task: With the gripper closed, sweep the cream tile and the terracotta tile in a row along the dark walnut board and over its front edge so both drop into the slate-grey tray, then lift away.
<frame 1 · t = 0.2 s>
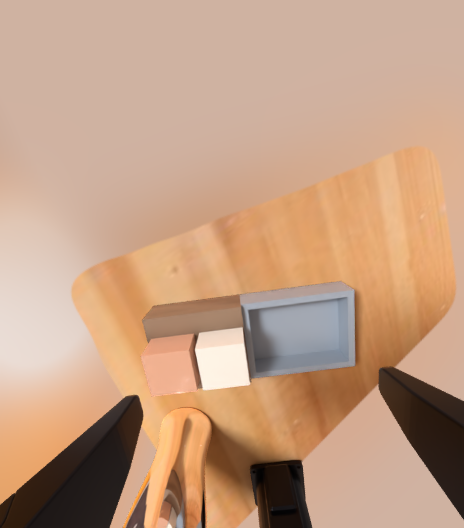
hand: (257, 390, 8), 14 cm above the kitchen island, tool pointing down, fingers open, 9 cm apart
slate tray: (292, 323, 23), on the kitchen island
cream tile: (224, 349, 21), point 3 cm above the kitchen island, touching dark walnut board
dark walnut board: (202, 334, 24), on the kitchen island
beer glass: (187, 425, 27), on the kitchen island
terracotta tile: (176, 355, 21), point 3 cm above the kitchen island, touching dark walnut board
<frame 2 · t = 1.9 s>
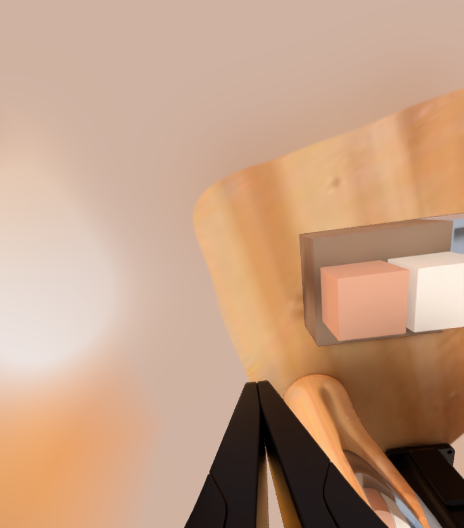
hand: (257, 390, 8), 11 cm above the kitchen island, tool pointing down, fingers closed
cream tile: (416, 283, 15), point 3 cm above the kitchen island, touching dark walnut board
dark walnut board: (357, 275, 18), on the kitchen island
beer glass: (313, 398, 21), on the kitchen island
terracotta tile: (350, 291, 15), point 3 cm above the kitchen island, touching dark walnut board
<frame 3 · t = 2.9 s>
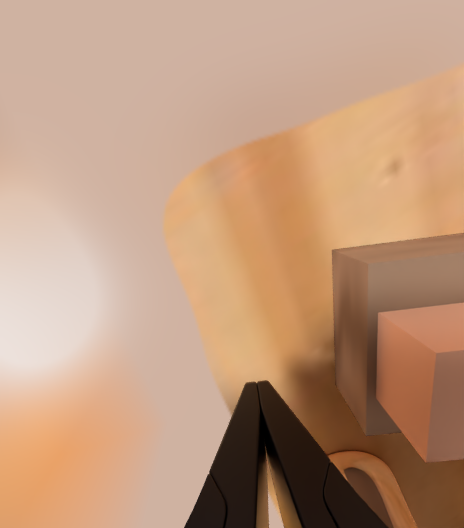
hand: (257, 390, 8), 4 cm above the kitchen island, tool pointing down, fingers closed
dark walnut board: (418, 312, 12), on the kitchen island
beer glass: (344, 481, 15), on the kitchen island
terracotta tile: (427, 351, 9), point 3 cm above the kitchen island, touching dark walnut board
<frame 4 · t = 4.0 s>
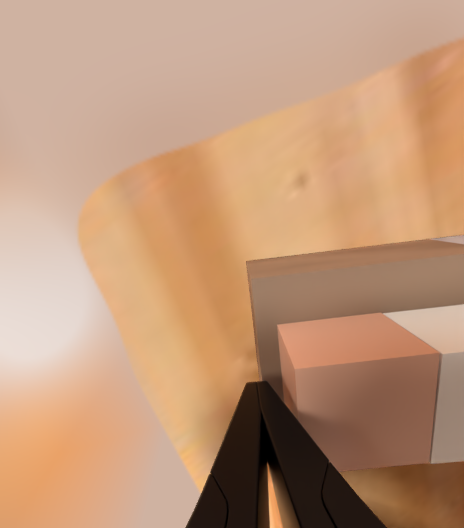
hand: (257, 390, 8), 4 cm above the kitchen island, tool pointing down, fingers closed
cream tile: (431, 353, 9), point 3 cm above the kitchen island, touching dark walnut board
dark walnut board: (337, 323, 12), on the kitchen island
beer glass: (279, 488, 15), on the kitchen island
terracotta tile: (329, 363, 9), point 3 cm above the kitchen island, touching dark walnut board, gripper
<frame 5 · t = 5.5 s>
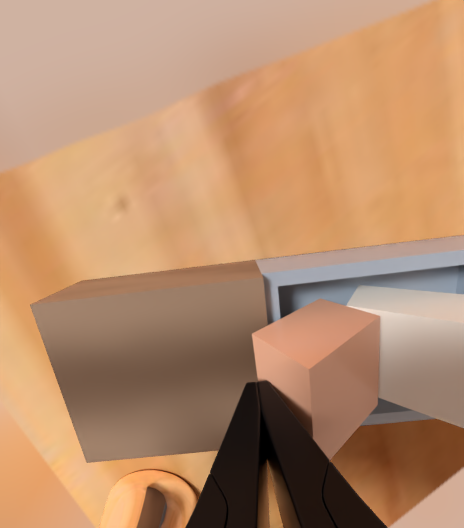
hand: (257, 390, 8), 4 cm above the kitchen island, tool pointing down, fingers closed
slate tray: (357, 320, 12), on the kitchen island
cream tile: (405, 363, 8), point 4 cm above the kitchen island, tilted 141°, touching slate tray, terracotta tile
dark walnut board: (181, 340, 12), on the kitchen island
beer glass: (155, 498, 15), on the kitchen island
terracotta tile: (293, 355, 10), point 2 cm above the kitchen island, tilted 34°, touching cream tile, gripper
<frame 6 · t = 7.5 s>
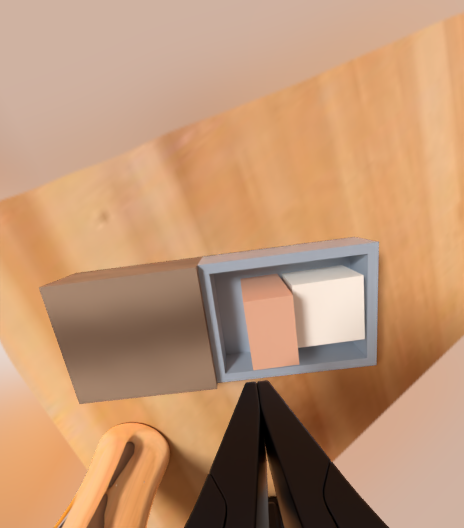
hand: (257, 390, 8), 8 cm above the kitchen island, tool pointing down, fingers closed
slate tray: (282, 301, 16), on the kitchen island
cream tile: (329, 313, 13), point 3 cm above the kitchen island, tilted 180°, touching slate tray
dark walnut board: (150, 317, 16), on the kitchen island
beer glass: (136, 447, 19), on the kitchen island
terracotta tile: (246, 319, 14), point 2 cm above the kitchen island, tilted 90°, touching slate tray
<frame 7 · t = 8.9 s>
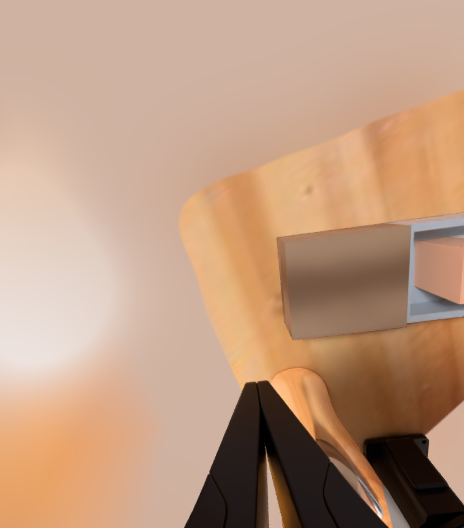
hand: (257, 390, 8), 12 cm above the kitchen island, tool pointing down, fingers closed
slate tray: (442, 261, 19), on the kitchen island
dark walnut board: (331, 275, 20), on the kitchen island
beer glass: (295, 391, 23), on the kitchen island
terracotta tile: (435, 269, 17), point 2 cm above the kitchen island, tilted 90°, touching slate tray
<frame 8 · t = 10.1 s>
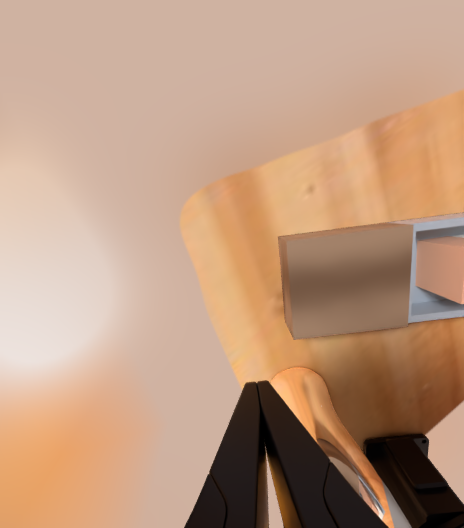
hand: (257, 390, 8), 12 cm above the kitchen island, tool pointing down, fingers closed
slate tray: (443, 261, 19), on the kitchen island
dark walnut board: (332, 274, 20), on the kitchen island
beer glass: (295, 390, 23), on the kitchen island
terracotta tile: (437, 269, 17), point 2 cm above the kitchen island, tilted 90°, touching slate tray
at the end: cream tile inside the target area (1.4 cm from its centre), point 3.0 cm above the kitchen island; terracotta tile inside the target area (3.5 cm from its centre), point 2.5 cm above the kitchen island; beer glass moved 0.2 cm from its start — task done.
